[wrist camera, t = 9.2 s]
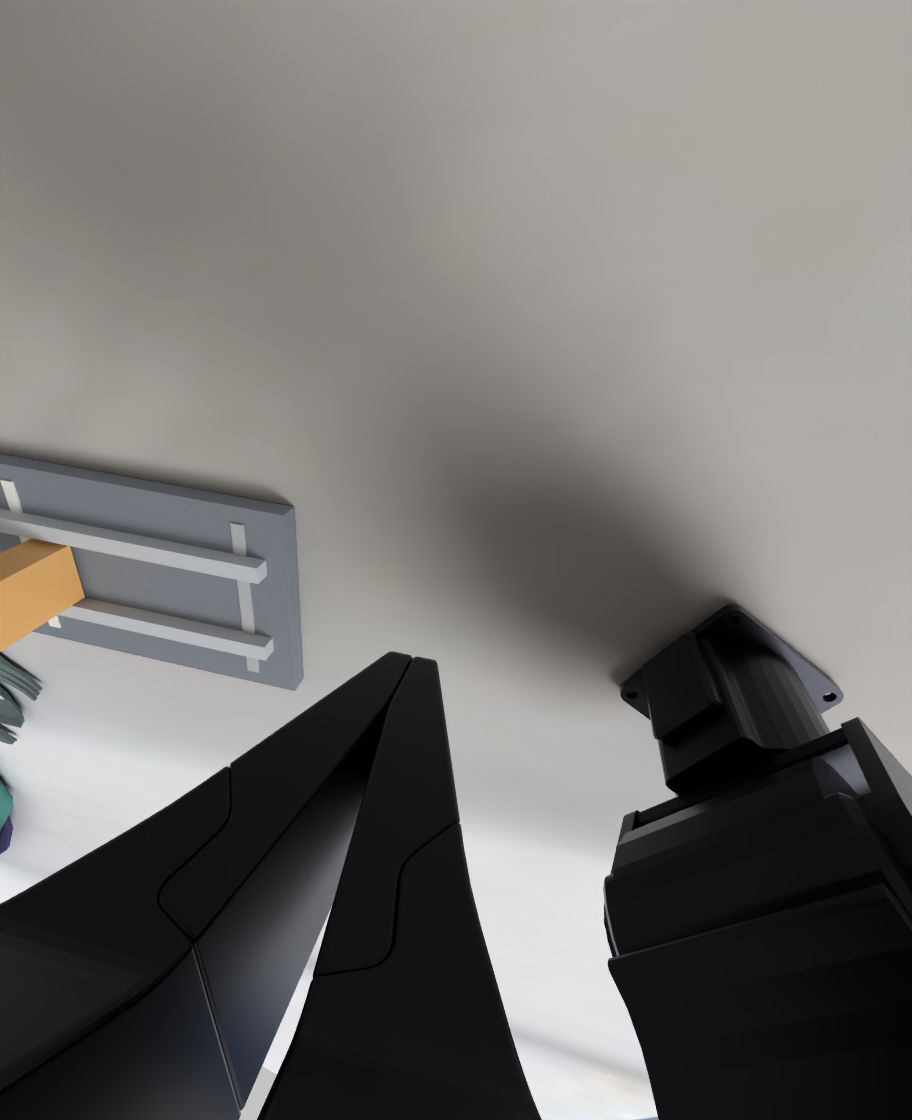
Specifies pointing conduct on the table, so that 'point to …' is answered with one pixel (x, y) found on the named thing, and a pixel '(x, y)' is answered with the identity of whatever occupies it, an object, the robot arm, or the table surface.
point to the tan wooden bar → (35, 587)
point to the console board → (165, 568)
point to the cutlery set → (10, 715)
